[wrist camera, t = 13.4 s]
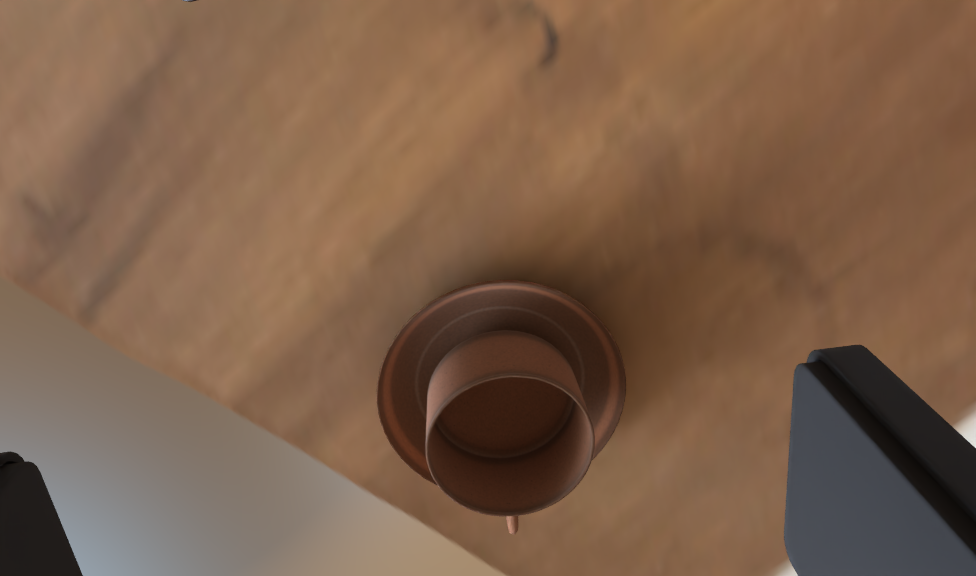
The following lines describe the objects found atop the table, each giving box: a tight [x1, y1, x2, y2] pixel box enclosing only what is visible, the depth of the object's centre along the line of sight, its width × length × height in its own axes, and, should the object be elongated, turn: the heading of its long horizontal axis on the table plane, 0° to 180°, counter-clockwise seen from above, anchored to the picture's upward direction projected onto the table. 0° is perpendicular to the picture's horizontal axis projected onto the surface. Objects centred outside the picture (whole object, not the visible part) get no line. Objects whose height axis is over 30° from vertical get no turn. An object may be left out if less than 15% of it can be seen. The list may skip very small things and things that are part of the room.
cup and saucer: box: [377, 280, 626, 534], centre depth 37 cm, size 12×12×6 cm
